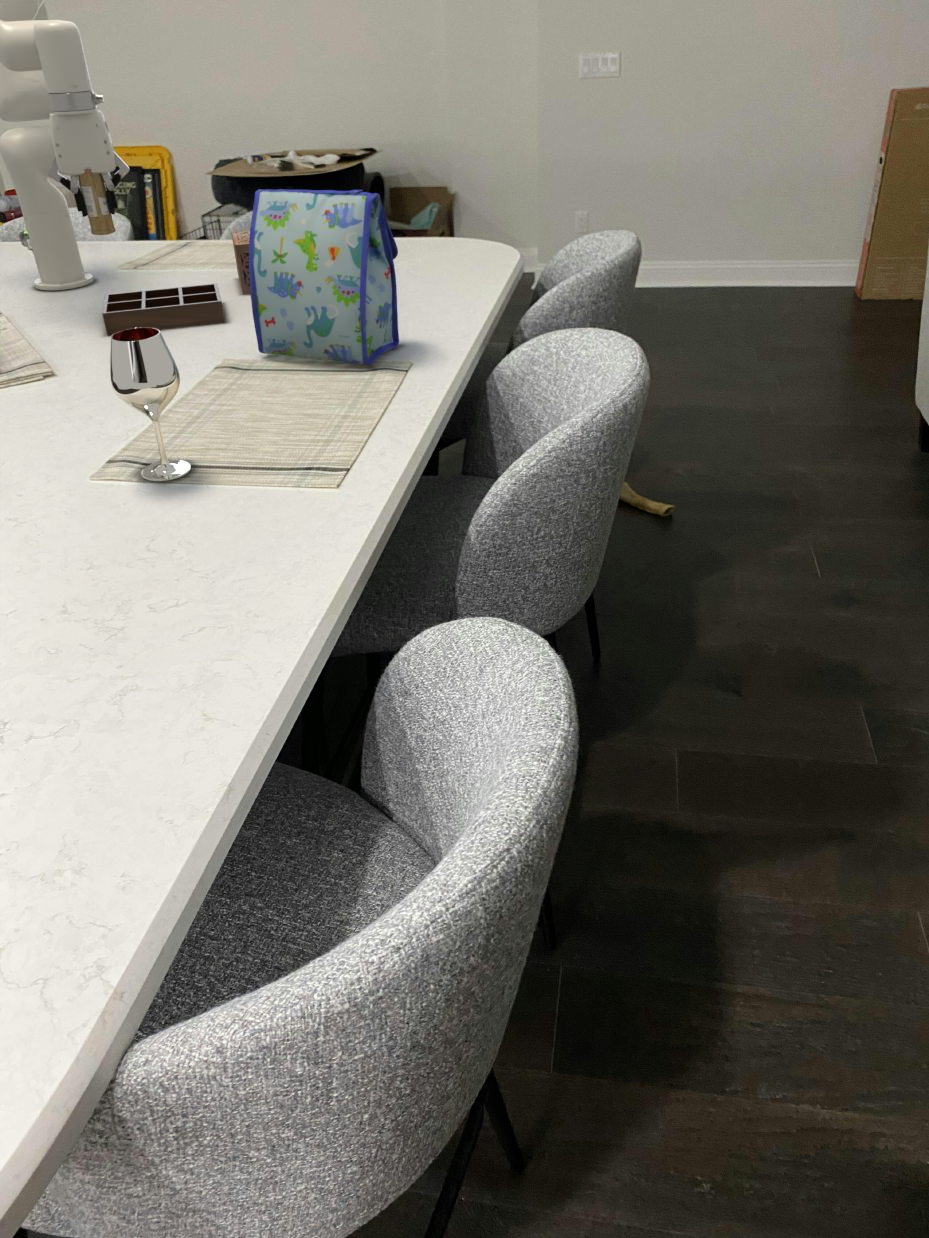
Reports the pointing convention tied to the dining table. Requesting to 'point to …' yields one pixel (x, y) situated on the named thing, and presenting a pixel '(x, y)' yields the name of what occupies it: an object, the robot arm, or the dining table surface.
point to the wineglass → (147, 387)
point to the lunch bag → (323, 275)
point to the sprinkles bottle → (96, 202)
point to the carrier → (163, 308)
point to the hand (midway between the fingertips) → (99, 213)
